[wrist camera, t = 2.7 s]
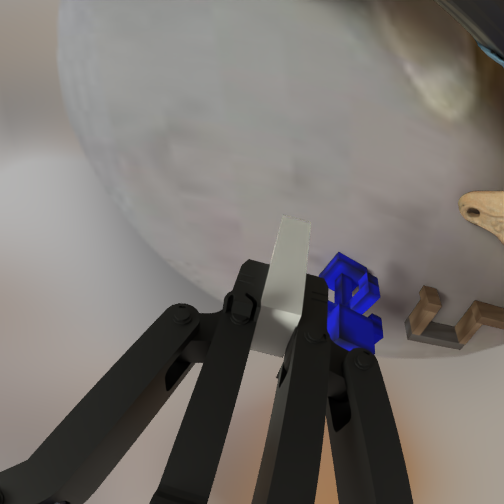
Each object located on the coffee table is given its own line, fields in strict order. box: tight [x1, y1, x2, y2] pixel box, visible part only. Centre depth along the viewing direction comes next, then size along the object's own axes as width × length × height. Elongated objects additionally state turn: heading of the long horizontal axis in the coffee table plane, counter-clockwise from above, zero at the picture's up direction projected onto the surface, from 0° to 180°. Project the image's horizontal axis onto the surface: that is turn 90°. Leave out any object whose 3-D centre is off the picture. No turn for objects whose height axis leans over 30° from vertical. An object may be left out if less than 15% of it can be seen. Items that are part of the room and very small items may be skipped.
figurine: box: [319, 252, 383, 355], centre depth 30 cm, size 8×8×12 cm
